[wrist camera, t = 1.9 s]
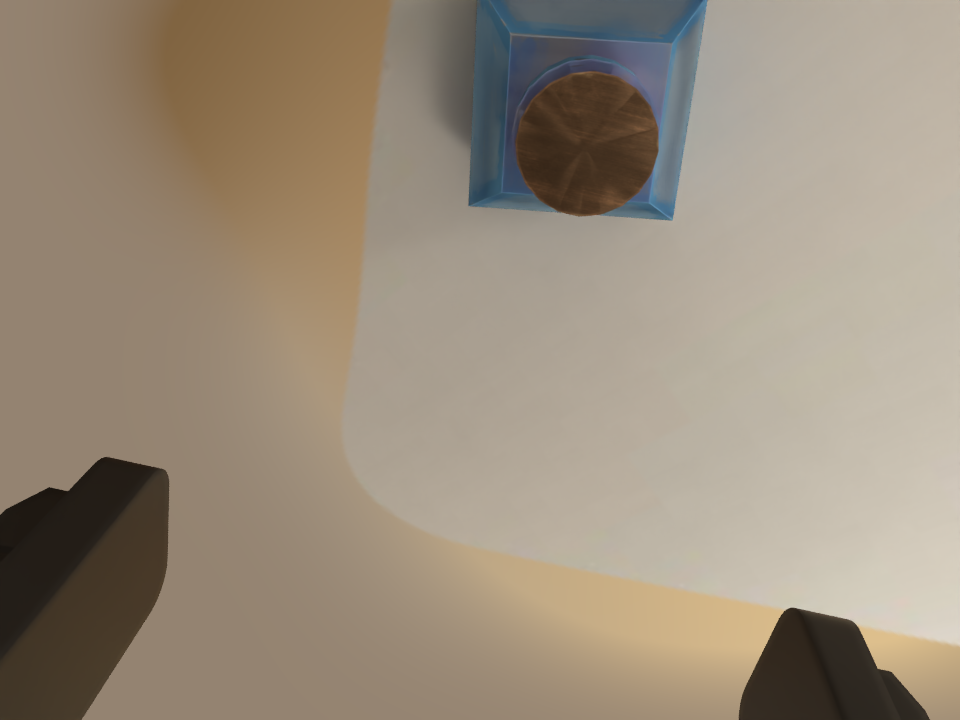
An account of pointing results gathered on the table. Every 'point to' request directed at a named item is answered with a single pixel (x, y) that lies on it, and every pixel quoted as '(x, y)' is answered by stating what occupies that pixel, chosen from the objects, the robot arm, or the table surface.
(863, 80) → the table surface
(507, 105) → the perfume bottle
